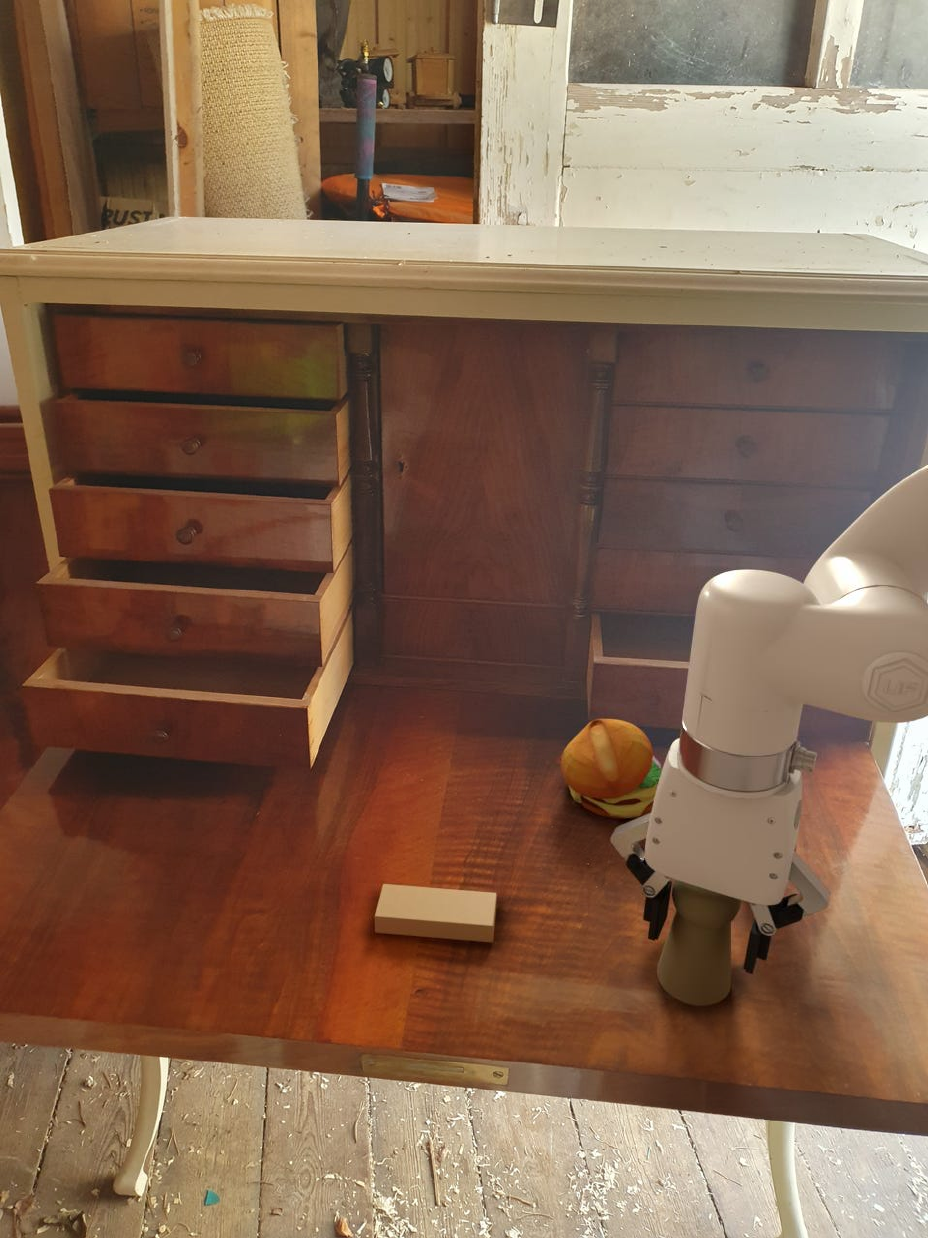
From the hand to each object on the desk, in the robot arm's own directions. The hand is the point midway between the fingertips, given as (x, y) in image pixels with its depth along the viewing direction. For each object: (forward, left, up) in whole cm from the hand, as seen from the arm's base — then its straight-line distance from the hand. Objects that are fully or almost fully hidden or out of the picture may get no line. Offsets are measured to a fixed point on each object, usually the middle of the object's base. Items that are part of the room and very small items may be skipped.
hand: (703, 942), depth 74 cm
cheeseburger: (+14, -22, -6) cm, 27 cm away
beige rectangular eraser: (+22, +2, -6) cm, 23 cm away
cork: (+1, -2, -6) cm, 7 cm away
